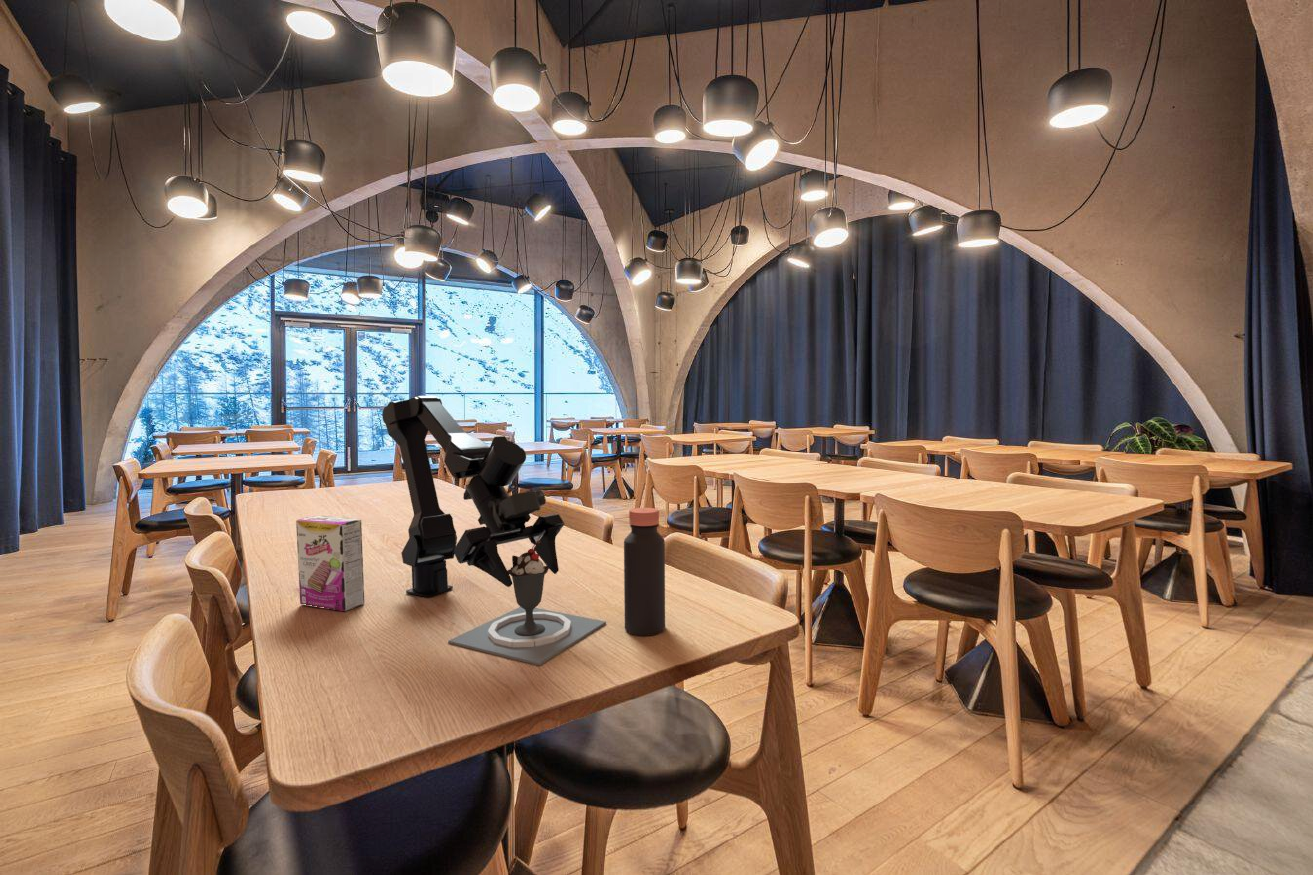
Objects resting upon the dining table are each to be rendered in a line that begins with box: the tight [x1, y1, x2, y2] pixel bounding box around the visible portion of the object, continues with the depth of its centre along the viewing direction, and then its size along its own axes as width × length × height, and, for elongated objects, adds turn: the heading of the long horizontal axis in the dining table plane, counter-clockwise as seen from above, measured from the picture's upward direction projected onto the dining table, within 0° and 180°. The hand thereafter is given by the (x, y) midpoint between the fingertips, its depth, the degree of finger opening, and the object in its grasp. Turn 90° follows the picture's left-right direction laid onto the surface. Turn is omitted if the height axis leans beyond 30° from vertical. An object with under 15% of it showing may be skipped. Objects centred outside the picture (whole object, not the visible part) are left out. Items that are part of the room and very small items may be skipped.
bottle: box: [623, 507, 666, 637], centre depth 99 cm, size 7×7×20 cm
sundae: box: [507, 540, 550, 636], centre depth 98 cm, size 7×7×15 cm
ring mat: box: [447, 606, 607, 666], centre depth 98 cm, size 18×18×1 cm
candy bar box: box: [295, 515, 365, 612], centre depth 112 cm, size 11×5×16 cm, turn 71°
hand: (534, 578), depth 97 cm, fingers open, 9 cm apart
